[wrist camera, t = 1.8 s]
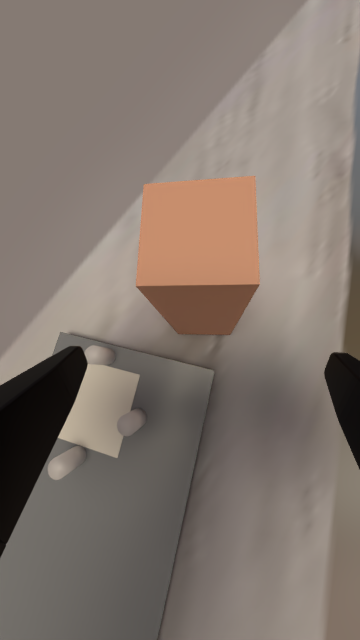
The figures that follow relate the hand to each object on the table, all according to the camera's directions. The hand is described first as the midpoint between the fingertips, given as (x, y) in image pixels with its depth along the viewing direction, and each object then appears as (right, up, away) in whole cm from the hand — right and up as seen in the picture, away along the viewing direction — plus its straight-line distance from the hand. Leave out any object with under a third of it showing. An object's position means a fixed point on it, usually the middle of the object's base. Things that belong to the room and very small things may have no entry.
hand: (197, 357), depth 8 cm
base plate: (-7, -12, +10) cm, 17 cm away
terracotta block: (+2, +2, +12) cm, 12 cm away
